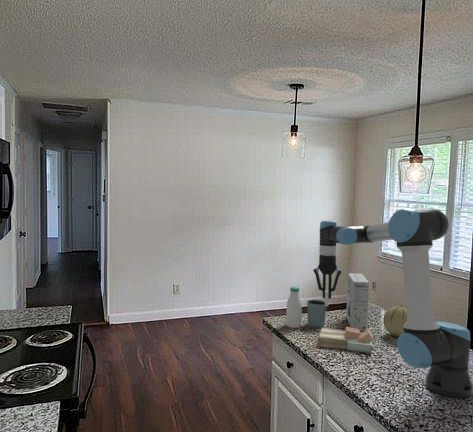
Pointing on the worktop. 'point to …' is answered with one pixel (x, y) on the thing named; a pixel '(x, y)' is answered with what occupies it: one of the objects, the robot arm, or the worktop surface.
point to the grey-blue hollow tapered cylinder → (316, 313)
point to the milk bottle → (294, 309)
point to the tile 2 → (365, 337)
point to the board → (333, 338)
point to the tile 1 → (352, 333)
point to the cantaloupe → (395, 320)
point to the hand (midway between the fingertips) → (326, 305)
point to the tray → (359, 345)
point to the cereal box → (357, 301)
